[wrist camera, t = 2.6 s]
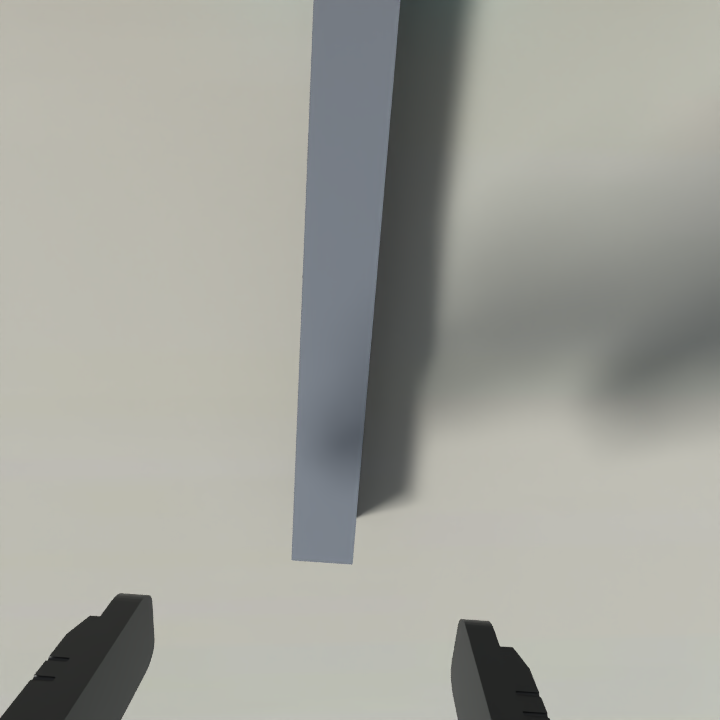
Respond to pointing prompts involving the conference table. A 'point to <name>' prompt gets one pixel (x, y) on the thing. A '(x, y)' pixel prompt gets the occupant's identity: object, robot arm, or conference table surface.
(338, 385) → the scraper
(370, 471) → the conference table surface
